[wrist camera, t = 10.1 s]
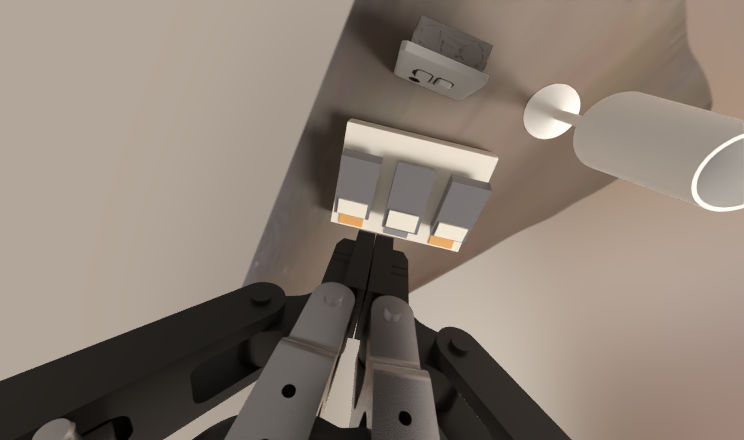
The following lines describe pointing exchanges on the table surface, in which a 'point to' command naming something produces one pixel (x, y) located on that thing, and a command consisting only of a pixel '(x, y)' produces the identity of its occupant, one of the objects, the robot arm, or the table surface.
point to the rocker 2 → (459, 208)
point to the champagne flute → (649, 143)
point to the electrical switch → (443, 60)
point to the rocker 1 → (357, 183)
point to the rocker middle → (408, 197)
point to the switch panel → (415, 151)
